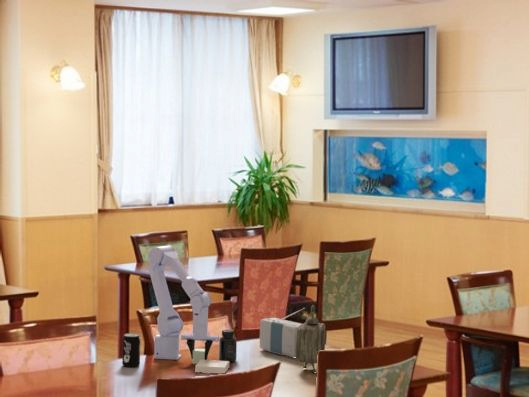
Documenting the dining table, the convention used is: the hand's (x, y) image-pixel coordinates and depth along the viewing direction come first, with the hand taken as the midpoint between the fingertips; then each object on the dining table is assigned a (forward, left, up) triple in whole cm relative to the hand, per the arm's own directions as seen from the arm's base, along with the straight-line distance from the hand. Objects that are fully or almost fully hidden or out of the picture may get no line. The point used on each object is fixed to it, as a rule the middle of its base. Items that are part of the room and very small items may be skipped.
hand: (199, 359), depth 412 cm
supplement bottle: (+10, +6, -2) cm, 12 cm away
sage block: (0, 0, -1) cm, 1 cm away
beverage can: (-24, -12, -2) cm, 27 cm away
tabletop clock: (+43, -2, -2) cm, 43 cm away
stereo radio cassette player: (+30, +25, -2) cm, 39 cm away
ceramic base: (+7, -11, -2) cm, 13 cm away
